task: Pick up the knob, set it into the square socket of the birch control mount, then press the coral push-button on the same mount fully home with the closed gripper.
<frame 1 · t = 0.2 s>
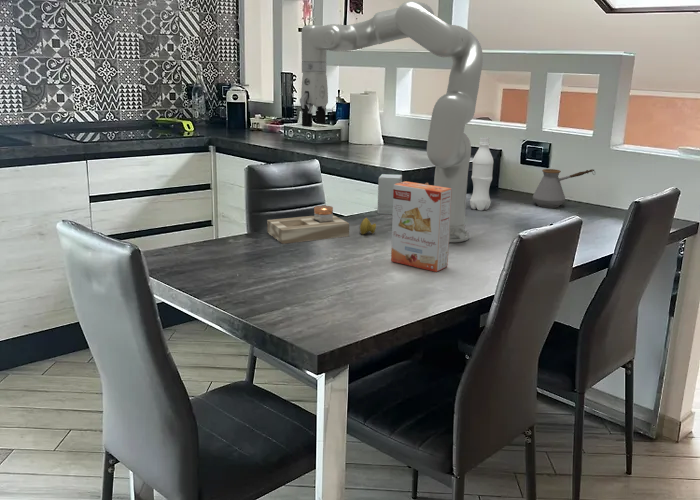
hand: (313, 125, 211), 31 cm above the table, tool pointing down, fingers open, 9 cm apart
plunger: (323, 214, 204), point 6 cm above the table, slide at 0.0 cm
knob: (367, 234, 205), on the table
cracker box: (418, 265, 176), on the table
coffee pot: (561, 208, 244), on the table
supplement box: (389, 212, 234), on the table
mount: (308, 234, 203), on the table
lidded jar: (425, 209, 239), on the table
water bottle: (479, 209, 240), on the table
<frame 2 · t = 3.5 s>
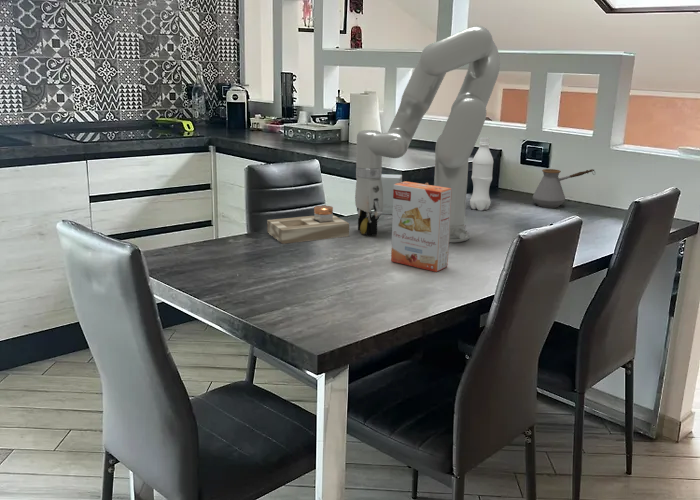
hand: (367, 232, 205), 1 cm above the table, tool pointing down, fingers closed on knob, 5 cm apart
knob: (367, 234, 205), on the table, touching gripper
everything else where it was.
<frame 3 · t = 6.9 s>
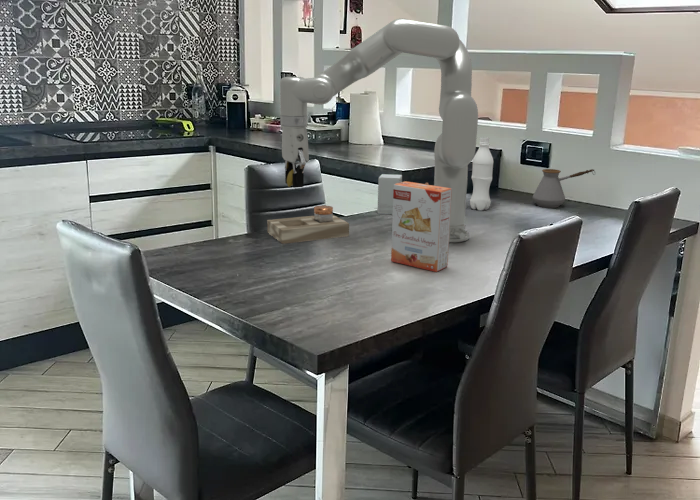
hand: (294, 184, 197), 15 cm above the table, tool pointing down, fingers closed on knob, 5 cm apart
knob: (295, 187, 197), point 15 cm above the table, touching gripper
everything else where it was.
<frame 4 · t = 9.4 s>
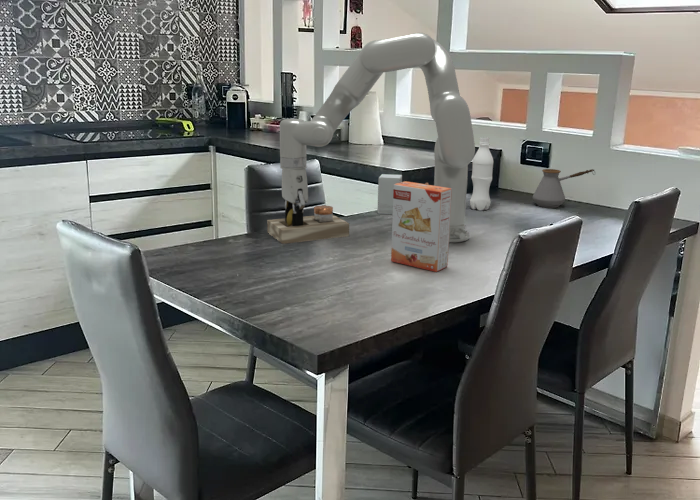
hand: (294, 223, 201), 4 cm above the table, tool pointing down, fingers closed on knob, mount, 5 cm apart
knob: (294, 225, 201), point 3 cm above the table, touching gripper
everything else where it was.
when the fingers open (4 cm above the table, at t = 10.4 s): knob stays where it is, resting on mount.
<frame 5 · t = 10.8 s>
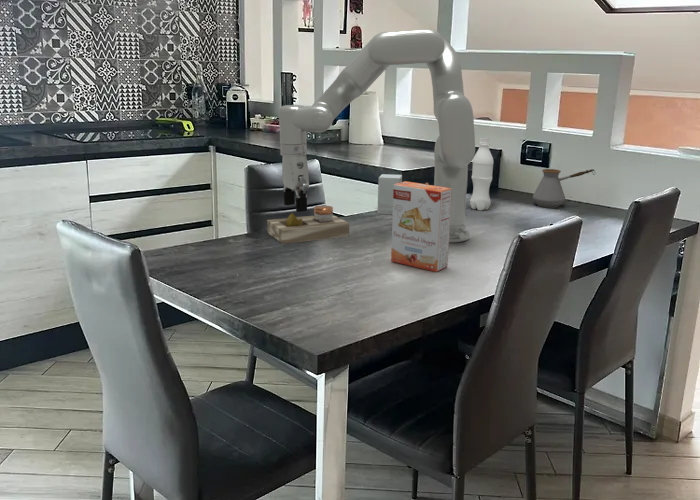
hand: (295, 207, 199), 9 cm above the table, tool pointing down, fingers open, 9 cm apart
knob: (294, 230, 201), point 2 cm above the table, touching mount
everything else where it was.
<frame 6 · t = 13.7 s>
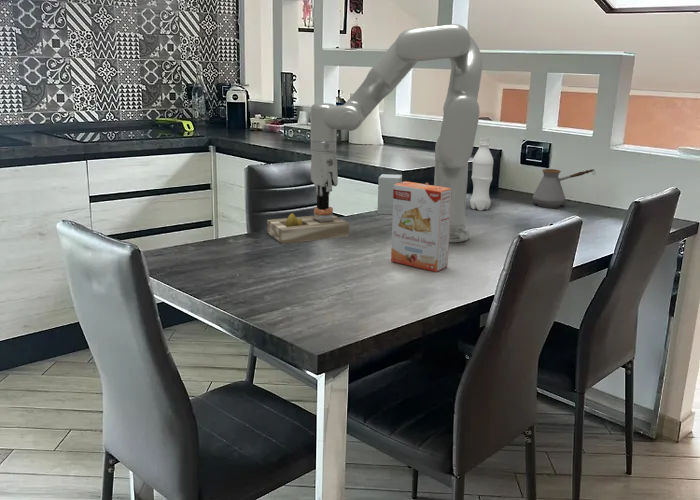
hand: (322, 208, 203), 8 cm above the table, tool pointing down, fingers closed
plunger: (323, 215, 204), point 5 cm above the table, slide at 0.3 cm, touching gripper
everything else where it was.
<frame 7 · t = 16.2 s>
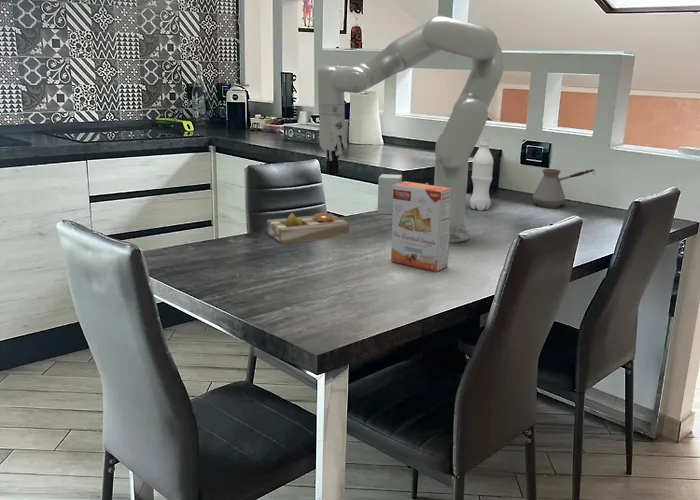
hand: (332, 173, 202), 18 cm above the table, tool pointing down, fingers closed
plunger: (323, 222, 205), point 3 cm above the table, slide at 2.3 cm
everything else where it was.
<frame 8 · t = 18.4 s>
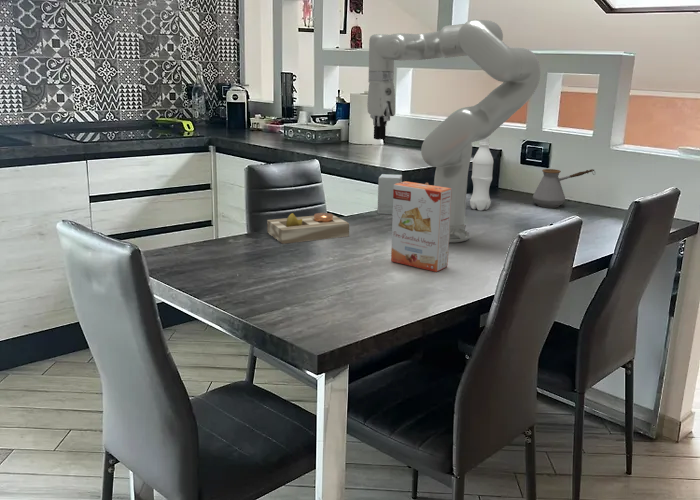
hand: (379, 138, 209), 27 cm above the table, tool pointing down, fingers closed
nothing on the table moved.
at the end: knob 0.1 cm from the target spot on the mount, point 1.8 cm above the mount's base; knob tilted 0°; plunger slide at 2.3 cm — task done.
